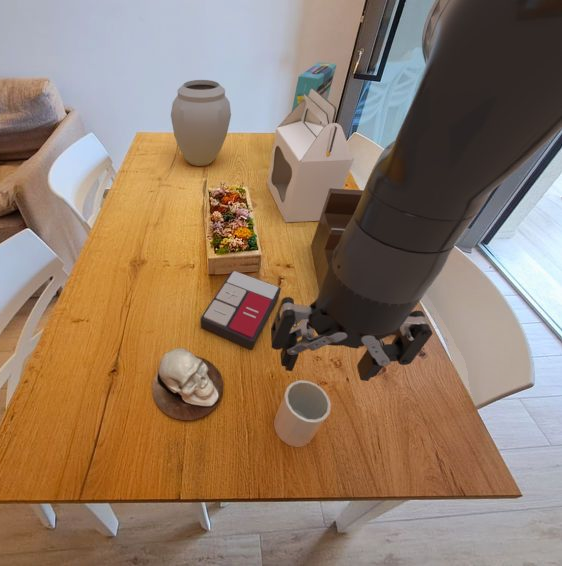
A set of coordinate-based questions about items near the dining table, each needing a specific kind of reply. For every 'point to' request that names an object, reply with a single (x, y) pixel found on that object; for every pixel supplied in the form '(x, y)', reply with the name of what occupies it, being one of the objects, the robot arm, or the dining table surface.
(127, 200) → the dining table surface
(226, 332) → the calculator
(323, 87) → the game box
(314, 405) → the cup
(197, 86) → the vase
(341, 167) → the gable box
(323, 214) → the shelf rack
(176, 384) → the skull
